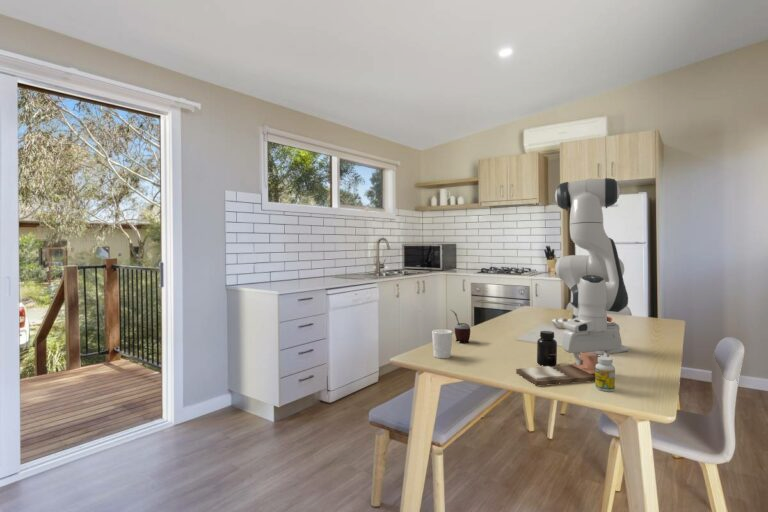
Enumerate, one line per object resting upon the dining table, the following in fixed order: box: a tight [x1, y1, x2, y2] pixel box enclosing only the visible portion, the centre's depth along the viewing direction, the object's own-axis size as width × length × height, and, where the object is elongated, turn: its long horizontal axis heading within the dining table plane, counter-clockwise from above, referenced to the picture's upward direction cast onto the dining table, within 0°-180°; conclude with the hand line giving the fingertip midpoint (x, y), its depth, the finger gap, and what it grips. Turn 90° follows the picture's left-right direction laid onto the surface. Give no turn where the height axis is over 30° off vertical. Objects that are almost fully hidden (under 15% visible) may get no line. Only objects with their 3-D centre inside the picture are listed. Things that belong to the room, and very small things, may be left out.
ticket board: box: [515, 364, 595, 387], centre depth 143 cm, size 28×13×2 cm, turn 101°
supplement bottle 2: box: [594, 356, 616, 393], centre depth 130 cm, size 5×5×10 cm
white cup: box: [431, 328, 453, 359], centre depth 168 cm, size 8×8×10 cm
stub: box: [571, 352, 602, 374], centre depth 144 cm, size 8×10×5 cm
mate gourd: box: [450, 309, 471, 344], centre depth 190 cm, size 8×8×15 cm
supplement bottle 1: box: [536, 330, 558, 367], centre depth 156 cm, size 7×7×12 cm
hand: (591, 363), depth 145 cm, fingers open, 8 cm apart
